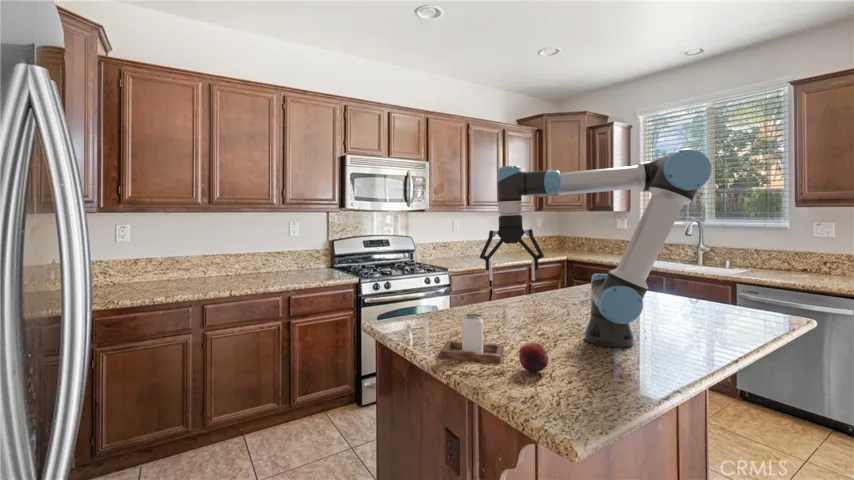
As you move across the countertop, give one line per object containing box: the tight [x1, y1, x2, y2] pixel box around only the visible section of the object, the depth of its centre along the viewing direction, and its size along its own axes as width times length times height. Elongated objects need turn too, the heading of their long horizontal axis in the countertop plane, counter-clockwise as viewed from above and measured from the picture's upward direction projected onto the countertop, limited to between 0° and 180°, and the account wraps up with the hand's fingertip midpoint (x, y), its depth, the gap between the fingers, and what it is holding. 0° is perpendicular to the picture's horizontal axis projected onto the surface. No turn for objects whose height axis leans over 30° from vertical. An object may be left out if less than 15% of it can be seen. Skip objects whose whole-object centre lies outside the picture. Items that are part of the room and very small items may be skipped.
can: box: [461, 313, 484, 353], centre depth 126 cm, size 6×6×12 cm
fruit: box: [518, 341, 549, 374], centre depth 112 cm, size 8×8×8 cm
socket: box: [439, 340, 504, 364], centre depth 127 cm, size 18×11×2 cm, turn 75°
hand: (511, 280), depth 134 cm, fingers open, 13 cm apart
